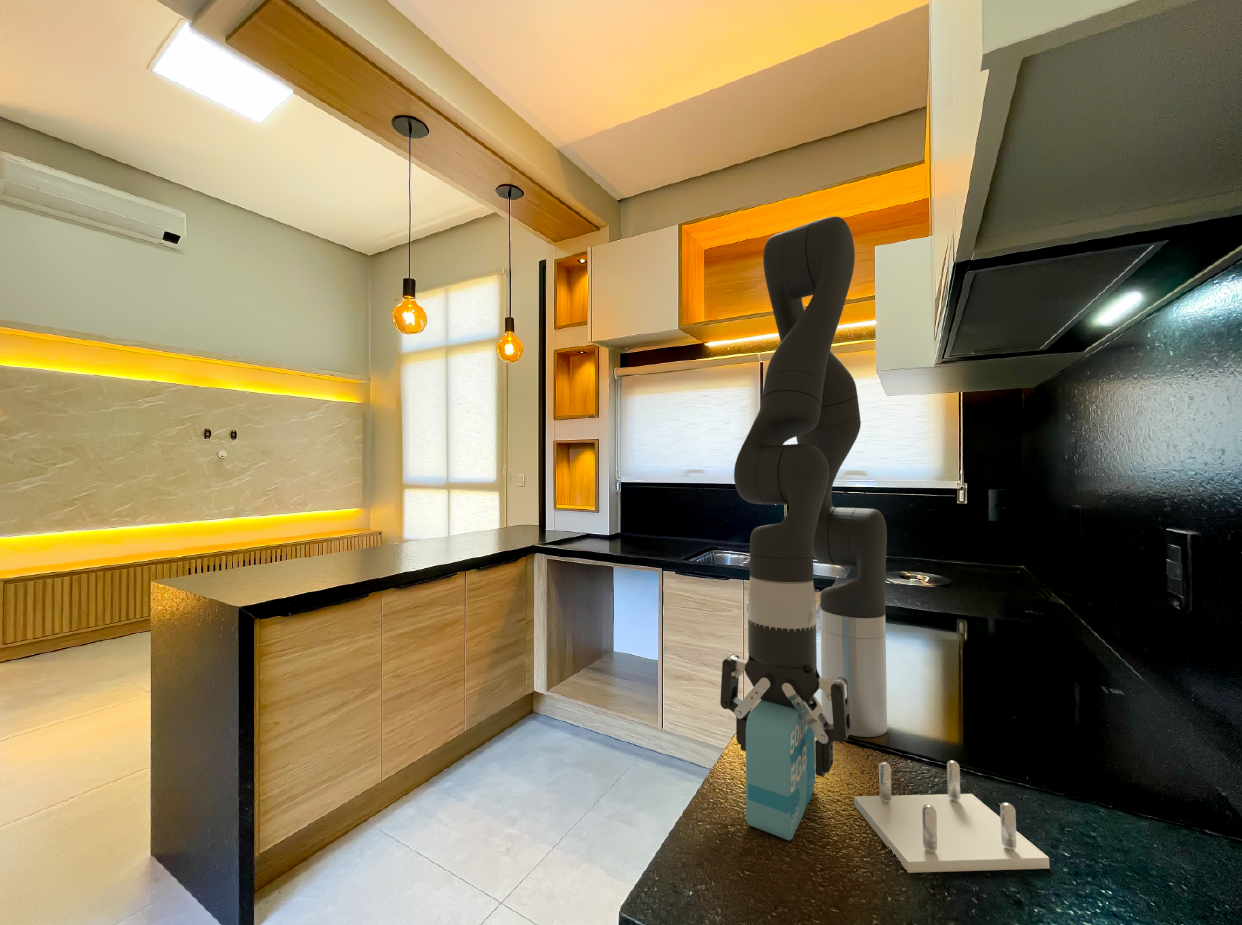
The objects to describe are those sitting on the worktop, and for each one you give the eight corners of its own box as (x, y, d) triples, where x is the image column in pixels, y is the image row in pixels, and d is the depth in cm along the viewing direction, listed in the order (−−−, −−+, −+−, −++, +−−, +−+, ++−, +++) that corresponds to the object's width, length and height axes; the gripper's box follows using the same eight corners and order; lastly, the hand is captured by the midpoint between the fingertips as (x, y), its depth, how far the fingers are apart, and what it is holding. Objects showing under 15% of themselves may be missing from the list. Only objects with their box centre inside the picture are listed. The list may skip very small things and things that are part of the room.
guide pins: (877, 799, 57) (876, 759, 57) (955, 797, 57) (954, 758, 58) (928, 856, 48) (927, 809, 48) (1019, 853, 49) (1018, 807, 49)
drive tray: (854, 805, 57) (854, 796, 58) (971, 802, 58) (971, 793, 58) (908, 872, 47) (907, 861, 48) (1049, 868, 48) (1049, 857, 48)
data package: (788, 848, 51) (787, 727, 51) (745, 831, 53) (745, 715, 54) (815, 788, 61) (814, 688, 61) (778, 776, 63) (777, 680, 64)
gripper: (855, 620, 57) (857, 766, 56) (736, 601, 65) (737, 729, 64) (839, 635, 51) (841, 800, 50) (710, 613, 59) (710, 754, 58)
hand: (782, 760), depth 57 cm, fingers open, 8 cm apart
